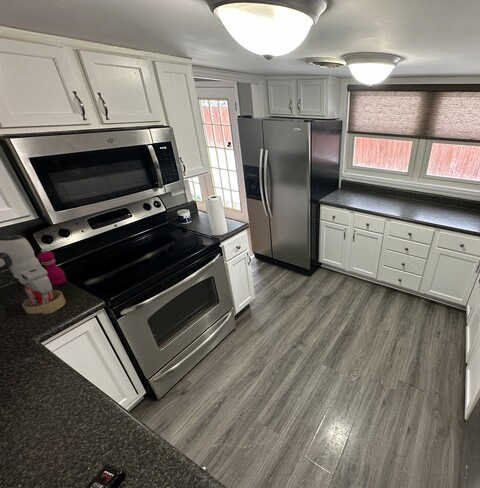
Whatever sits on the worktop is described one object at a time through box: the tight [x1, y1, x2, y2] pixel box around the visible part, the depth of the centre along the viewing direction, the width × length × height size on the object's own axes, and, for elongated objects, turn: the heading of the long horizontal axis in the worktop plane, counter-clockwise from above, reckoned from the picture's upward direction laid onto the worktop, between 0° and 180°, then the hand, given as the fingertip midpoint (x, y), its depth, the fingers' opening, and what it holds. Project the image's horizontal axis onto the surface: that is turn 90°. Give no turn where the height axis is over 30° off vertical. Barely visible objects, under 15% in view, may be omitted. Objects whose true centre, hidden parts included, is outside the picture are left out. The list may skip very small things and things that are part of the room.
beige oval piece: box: [21, 289, 67, 316], centre depth 123 cm, size 13×13×6 cm
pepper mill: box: [37, 249, 67, 286], centre depth 139 cm, size 7×7×20 cm
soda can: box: [24, 283, 54, 307], centre depth 121 cm, size 7×7×12 cm
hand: (41, 295), depth 121 cm, fingers closed on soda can, 7 cm apart
